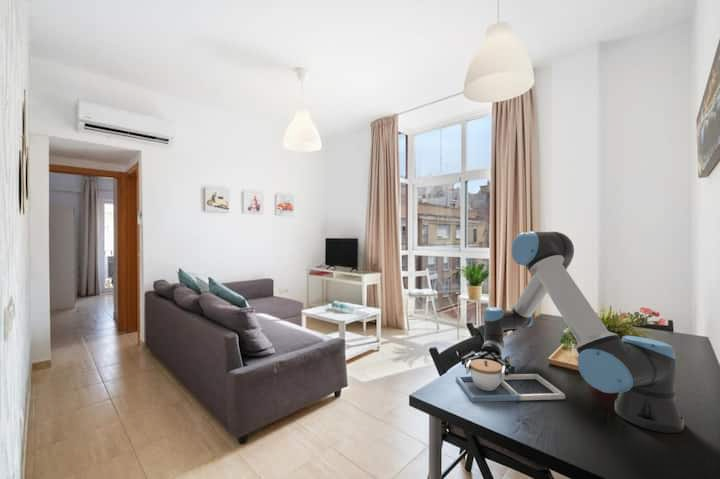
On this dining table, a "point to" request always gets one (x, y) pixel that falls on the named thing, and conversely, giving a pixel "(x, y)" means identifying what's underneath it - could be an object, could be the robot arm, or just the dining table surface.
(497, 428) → the dining table surface
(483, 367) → the lidded jar
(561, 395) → the white square frame
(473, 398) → the blue bezel
